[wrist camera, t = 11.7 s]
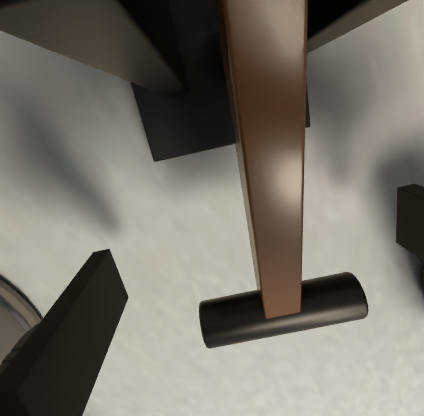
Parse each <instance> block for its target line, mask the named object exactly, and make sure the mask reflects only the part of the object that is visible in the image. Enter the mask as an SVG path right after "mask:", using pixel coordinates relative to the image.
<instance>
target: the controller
mask: <svg viewBox="0 0 424 416" xmlns="http://www.w3.org/2000/svg"><path fill="white" fill-rule="evenodd" d="M421 278H422V287H423V290H424V268H423V270H422V275H421Z"/></svg>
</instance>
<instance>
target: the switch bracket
mask: <svg viewBox="0 0 424 416" xmlns="http://www.w3.org/2000/svg"><path fill="white" fill-rule="evenodd" d="M406 1H408V0H308V17H307V54H308V53H310V52H311V51H313V50H315V49H317V48H319V47H321V46H323V45H325V44H327V43H328V42H330V41H332V40H334V39H336V38H338V37H340V36H342V35H343V34H345V33H347V32H349V31H351V30H353V29H355V28H357V27H359V26H360V25H362V24H364V23H366V22H368V21H370V20H372V19H374V18H376V17H377V16H379V15H381V14H383V13H385V12H387V11H389V10H391V9H393V8H394V7H396V6H398V5H400V4H402V3H404V2H406ZM0 31H2V32H5V33H7V34H10V35H13V36H15V37H18V38H20V39H23V40H25V41H28V42H31V43H33V44H36V45H38V46H41V47H43V48H46V49H48V50H51V51H54V52H56V53H59V54H61V55H64V56H66V57H69V58H71V59H74V60H77V61H79V62H82V63H84V64H87V65H89V66H92V67H94V68H97V69H100V70H102V71H105V72H107V73H110V74H112V75H115V76H118V77H120V78H123V79H125V80H128V81H130V82H131V85H132V88H133V92H134V95H135V99H136V102H137V105H138V109H139V112H140V116H141V119H142V123H143V126H144V129H145V133H146V136H147V140H148V143H149V146H150V150H151V153H152V157H153V160H154V162H156V161H161V160H165V159H170V158H174V157H179V156H183V155H187V154H192V153H196V152H201V151H205V150H210V149H214V148H219V147H223V146H227V145H232V144H235V138H234V131H233V125H232V118H231V112H230V105H229V98H228V92H227V85H226V78H225V72H224V65H223V58H222V52H221V45H220V39H219V32H218V25H217V19H216V12H215V5H214V0H0ZM307 127H310V115H309V104H308V92H307V80H306V105H305V128H307Z"/></svg>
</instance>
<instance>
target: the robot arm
mask: <svg viewBox="0 0 424 416" xmlns="http://www.w3.org/2000/svg"><path fill="white" fill-rule="evenodd" d="M396 243H398V244H399V245H401V246H402V247H404V248H405V249H406V250H408V251H409V252H411V253H412V254H414V255H415V256H417V257H418V258H420V259H421V260H423V261H424V187H423V186H420V185H417V184H411V185H407V186H402V187H397V224H396ZM127 300H128V295H127V292H126V290H125V287H124V285H123V282H122V279H121V277H120V274H119V272H118V269H117V267H116V264H115V262H114V259H113V257H112V254H111V252H110V249H106V250H102V251H97V252H93V253H92V255H91V256H90V257H89V259H88V260H87V261H86V263H85V264H84V265H83V267H82V268H81V269H80V270H79V272H78V273H77V274H76V276H75V277H74V278H73V280H72V281H71V282H70V284H69V285H68V286H67V288H66V289H65V290H64V292H63V293H62V294H61V295H60V297H59V298H58V299H57V301H56V302H55V303H54V305H53V306H52V307H51V309H50V310H49V311H48V313H47V314H46V315H45V317H44V318H43V319H42V320H41V319H40V317H39V316H38V314H37V313H36V312H35V310H34V309H33V308H32V307H31V306H30V305H29V303H28V302H27V301H26V300H25V299H24V298H23V297H22V296H21V295H20V294H18V293H17V292H16V291H15V290H14V289H13V288H11V287H10V286H9V285H7V284H6V283H5V282H3V281H2V280H0V416H82V415H83V412H84V410H85V407H86V405H87V402H88V400H89V397H90V394H91V392H92V389H93V387H94V384H95V382H96V379H97V377H98V374H99V371H100V369H101V366H102V364H103V361H104V359H105V356H106V354H107V351H108V348H109V346H110V343H111V341H112V338H113V336H114V333H115V330H116V328H117V325H118V323H119V320H120V318H121V315H122V313H123V310H124V307H125V305H126V302H127Z"/></svg>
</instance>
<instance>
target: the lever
mask: <svg viewBox="0 0 424 416" xmlns="http://www.w3.org/2000/svg"><path fill="white" fill-rule="evenodd" d="M214 5H215V12H216V19H217V25H218V32H219V39H220V45H221V52H222V58H223V65H224V72H225V78H226V85H227V92H228V98H229V105H230V112H231V118H232V125H233V131H234V138H235V145H236V151H237V158H238V165H239V171H240V178H241V184H242V191H243V198H244V204H245V211H246V218H247V224H248V231H249V238H250V244H251V251H252V257H253V264H254V271H255V277H256V284H257V290H255V291H250V292H245V293H240V294H235V295H230V296H225V297H220V298H215V299H210V300H205V301H202V302H200V305H199V318H200V326H201V332H202V336H203V340H204V343H205V345H206V347H207V348H215V347H220V346H225V345H231V344H236V343H241V342H246V341H251V340H256V339H261V338H267V337H272V336H277V335H282V334H287V333H292V332H297V331H303V330H308V329H313V328H318V327H323V326H328V325H333V324H339V323H344V322H349V321H354V320H359V319H364V318H365V317H366V316H367V315H368V304H367V299H366V296H365V293H364V291H363V288H362V286H361V284H360V283H359V281H358V280H357V278H356V277H355V276H354V275H353V274H352V273H349V272H344V273H339V274H334V275H329V276H324V277H319V278H314V279H309V280H304V281H302V237H303V193H304V149H305V105H306V61H307V17H308V0H214Z"/></svg>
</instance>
